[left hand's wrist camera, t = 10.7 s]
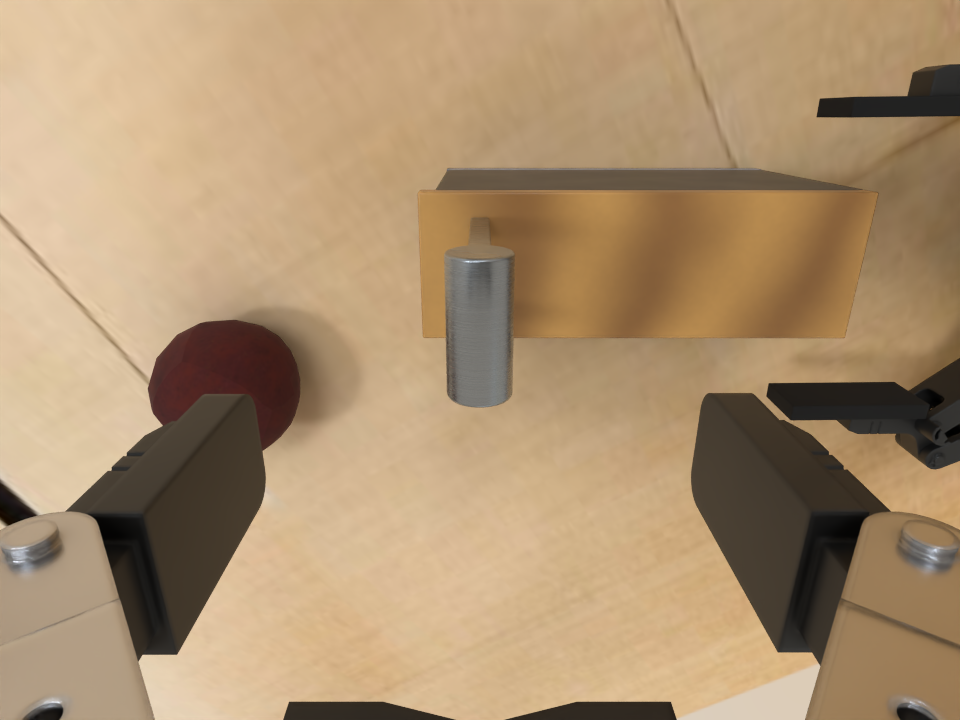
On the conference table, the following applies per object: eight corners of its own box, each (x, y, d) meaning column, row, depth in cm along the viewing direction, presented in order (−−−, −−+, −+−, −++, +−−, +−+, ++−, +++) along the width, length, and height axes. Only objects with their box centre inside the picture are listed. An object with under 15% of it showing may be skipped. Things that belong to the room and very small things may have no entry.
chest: (449, 273, 35) (438, 331, 25) (447, 168, 33) (434, 189, 23) (738, 273, 35) (833, 331, 25) (755, 168, 33) (865, 189, 23)
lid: (424, 331, 25) (398, 432, 17) (419, 189, 23) (386, 229, 15) (834, 331, 25) (999, 433, 17) (866, 189, 23) (1072, 229, 15)
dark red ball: (283, 438, 38) (243, 505, 32) (166, 379, 37) (99, 436, 30) (336, 345, 36) (304, 396, 30) (213, 278, 35) (152, 316, 28)
